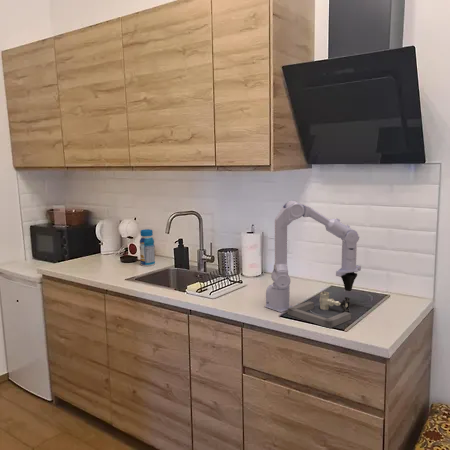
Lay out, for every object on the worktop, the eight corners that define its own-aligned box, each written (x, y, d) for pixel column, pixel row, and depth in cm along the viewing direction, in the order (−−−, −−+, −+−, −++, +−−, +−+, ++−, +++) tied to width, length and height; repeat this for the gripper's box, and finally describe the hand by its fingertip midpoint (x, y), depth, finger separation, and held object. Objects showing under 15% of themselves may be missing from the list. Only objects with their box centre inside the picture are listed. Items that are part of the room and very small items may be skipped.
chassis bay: (287, 314, 184) (287, 308, 184) (308, 307, 193) (309, 301, 192) (329, 328, 169) (329, 321, 169) (350, 319, 178) (350, 313, 177)
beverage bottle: (151, 266, 264) (150, 231, 261) (137, 266, 266) (136, 231, 263) (157, 263, 272) (156, 229, 269) (143, 262, 274) (142, 228, 271)
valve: (315, 309, 190) (343, 316, 182) (316, 293, 189) (343, 299, 181) (323, 305, 195) (350, 311, 187) (324, 290, 194) (351, 295, 186)
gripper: (346, 262, 183) (346, 296, 185) (367, 256, 192) (366, 288, 194) (331, 259, 188) (331, 292, 190) (352, 254, 197) (352, 285, 199)
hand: (348, 290), depth 192 cm, fingers closed
